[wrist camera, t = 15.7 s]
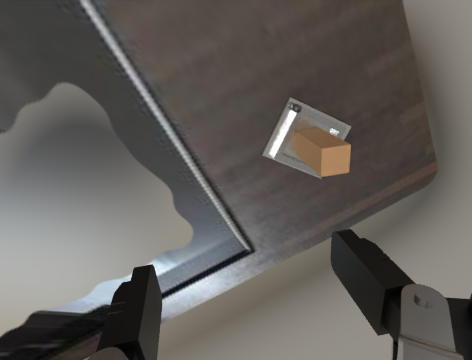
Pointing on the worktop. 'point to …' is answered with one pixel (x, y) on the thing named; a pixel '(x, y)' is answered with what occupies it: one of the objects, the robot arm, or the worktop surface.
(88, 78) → the worktop surface
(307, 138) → the tan block
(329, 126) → the plate
